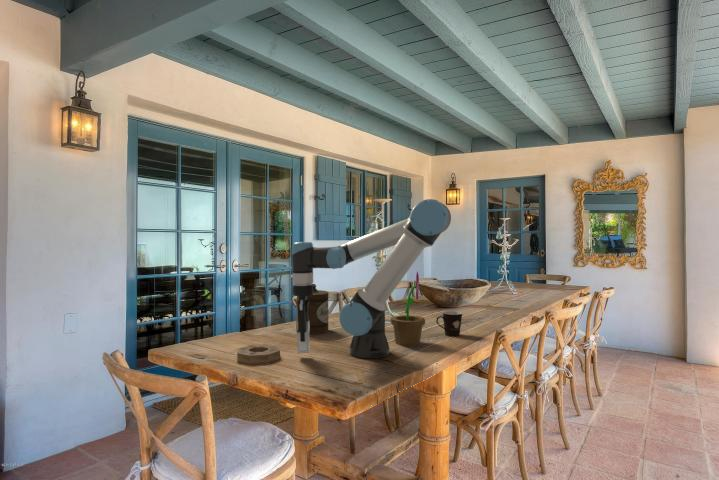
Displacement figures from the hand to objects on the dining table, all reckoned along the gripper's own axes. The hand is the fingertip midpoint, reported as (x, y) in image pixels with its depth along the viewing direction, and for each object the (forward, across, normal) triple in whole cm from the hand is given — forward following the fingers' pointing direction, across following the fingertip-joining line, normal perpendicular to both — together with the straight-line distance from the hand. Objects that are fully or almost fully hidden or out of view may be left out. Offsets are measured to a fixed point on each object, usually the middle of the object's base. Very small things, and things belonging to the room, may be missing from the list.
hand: (303, 348), depth 165 cm
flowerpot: (+4, -23, +40) cm, 47 cm away
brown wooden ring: (+3, 0, -17) cm, 17 cm away
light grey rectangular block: (+1, 0, 0) cm, 1 cm away
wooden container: (+4, -45, -1) cm, 45 cm away
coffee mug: (+5, -38, +60) cm, 71 cm away
